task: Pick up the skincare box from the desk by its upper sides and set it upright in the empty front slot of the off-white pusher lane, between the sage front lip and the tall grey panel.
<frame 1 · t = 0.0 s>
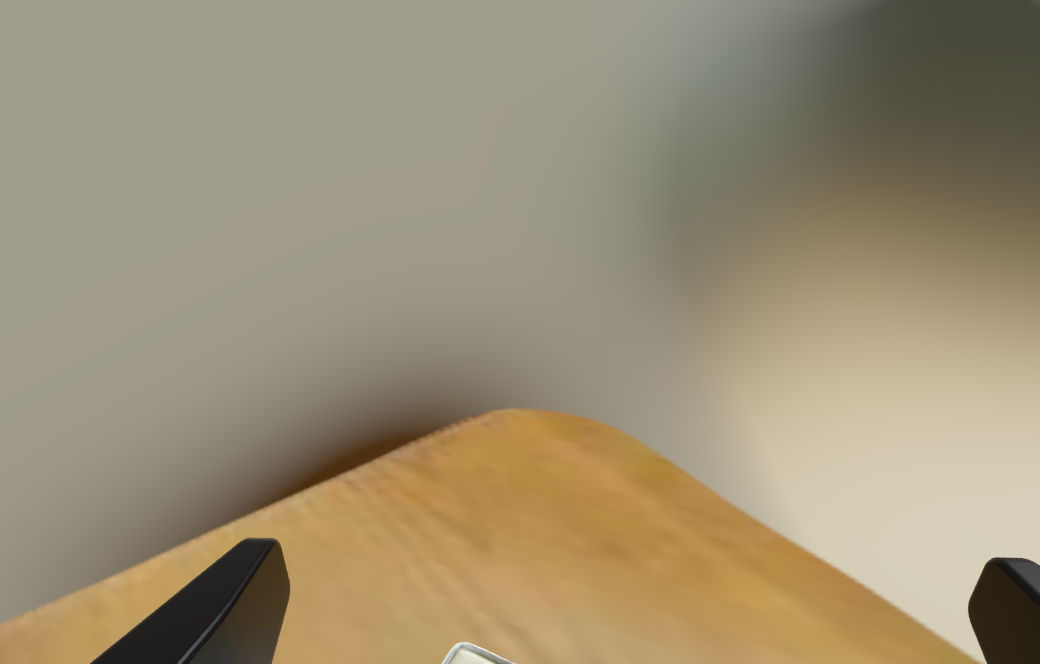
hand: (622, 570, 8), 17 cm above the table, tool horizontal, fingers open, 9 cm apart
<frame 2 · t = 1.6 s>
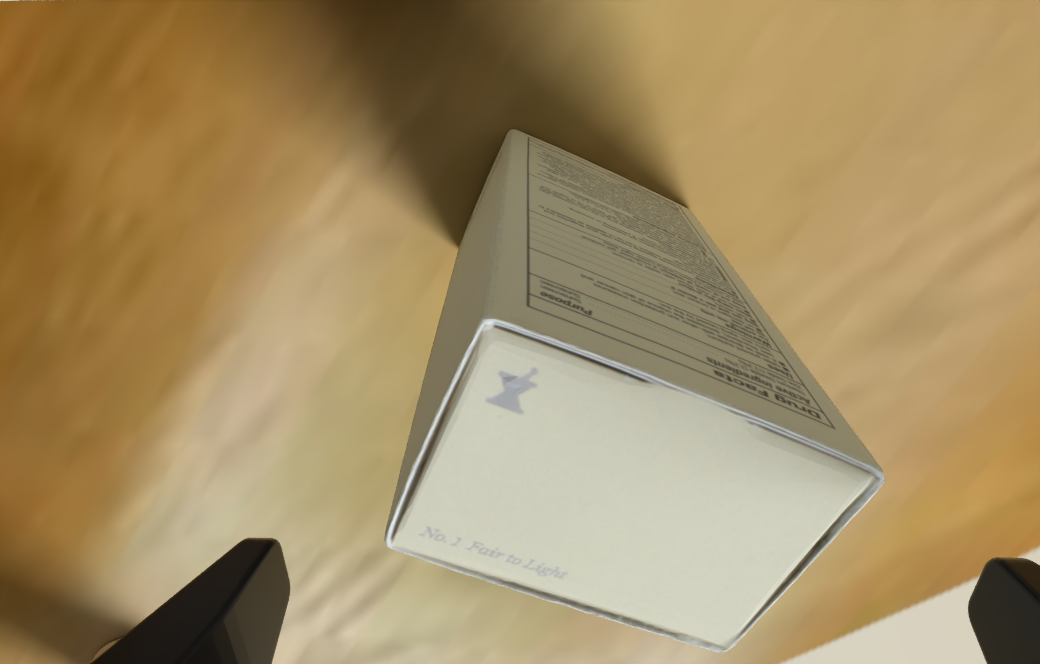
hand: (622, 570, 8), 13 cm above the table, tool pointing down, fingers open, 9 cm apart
skincare box: (578, 228, 20), on the table
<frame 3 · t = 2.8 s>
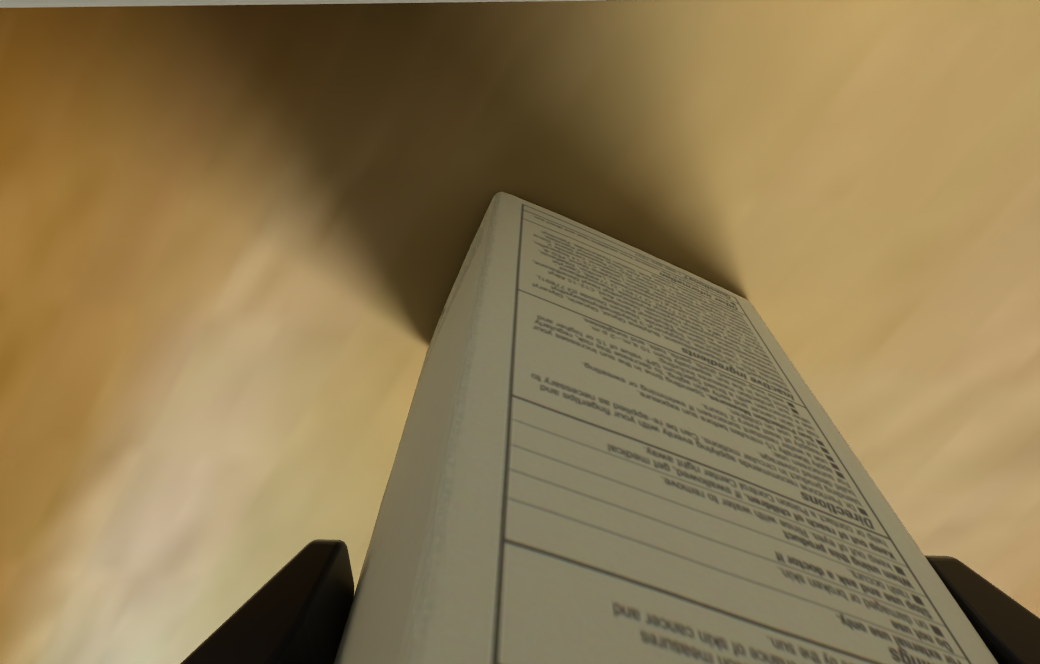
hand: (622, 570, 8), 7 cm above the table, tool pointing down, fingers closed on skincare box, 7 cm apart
skincare box: (591, 320, 15), on the table, touching gripper
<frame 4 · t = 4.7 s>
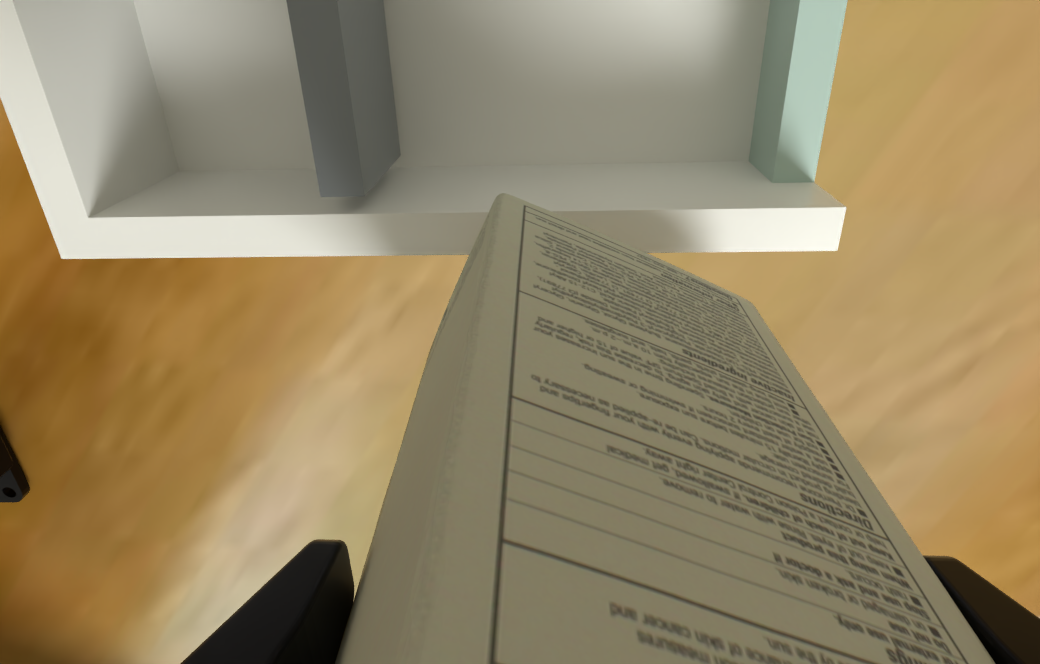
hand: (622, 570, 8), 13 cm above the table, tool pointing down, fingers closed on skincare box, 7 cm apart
skincare box: (593, 321, 15), point 6 cm above the table, touching gripper
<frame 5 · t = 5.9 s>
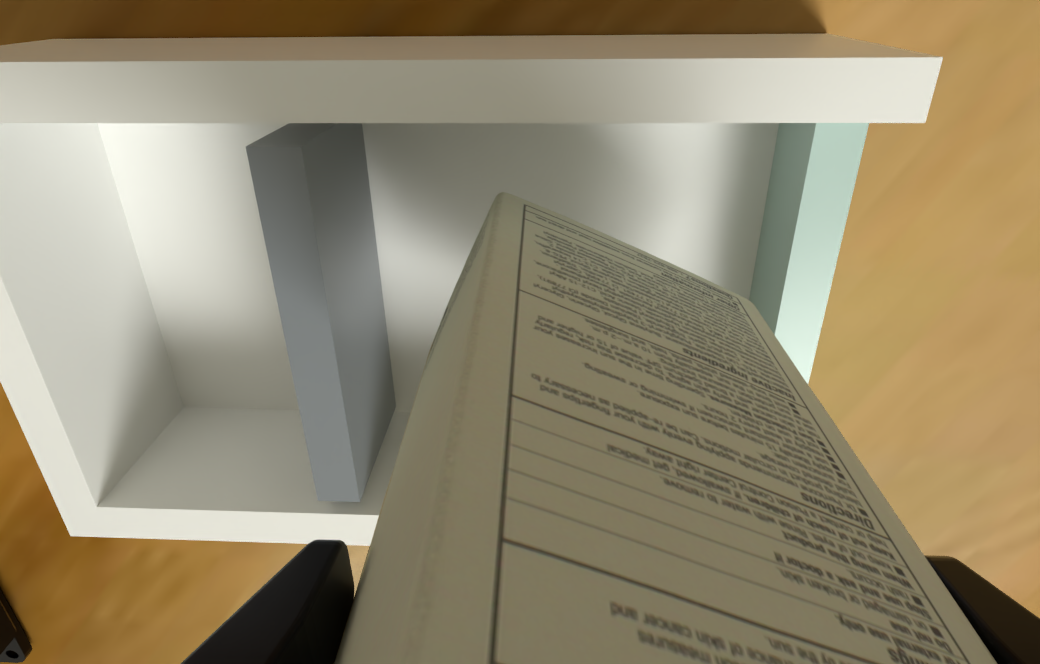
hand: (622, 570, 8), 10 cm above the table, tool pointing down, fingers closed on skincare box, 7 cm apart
pusher lane: (444, 258, 18), on the table
tall grey panel: (338, 307, 15), point 3 cm above the table, slide at 0.0 cm
skincare box: (593, 321, 15), point 3 cm above the table, touching gripper
when the fingers open (9 cm above the table, at t = 6.8 s): skincare box drops 1 cm, resting on pusher lane.
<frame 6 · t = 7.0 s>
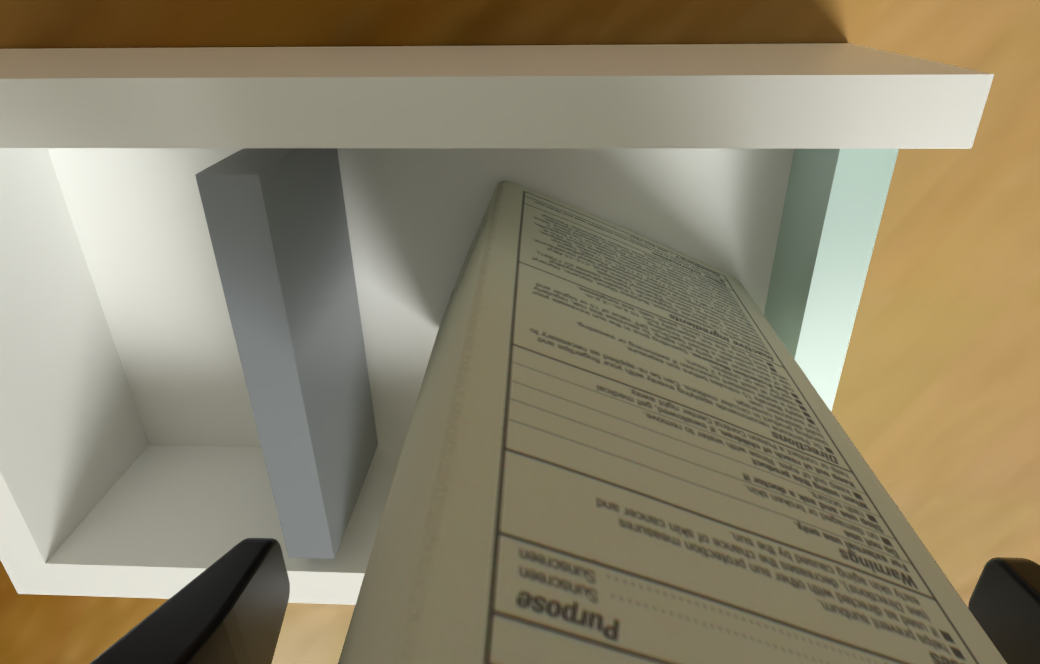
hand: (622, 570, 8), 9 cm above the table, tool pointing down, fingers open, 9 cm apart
pusher lane: (429, 286, 16), on the table
tall grey panel: (310, 345, 14), point 3 cm above the table, slide at 0.0 cm
skincare box: (591, 301, 16), point 1 cm above the table, touching pusher lane
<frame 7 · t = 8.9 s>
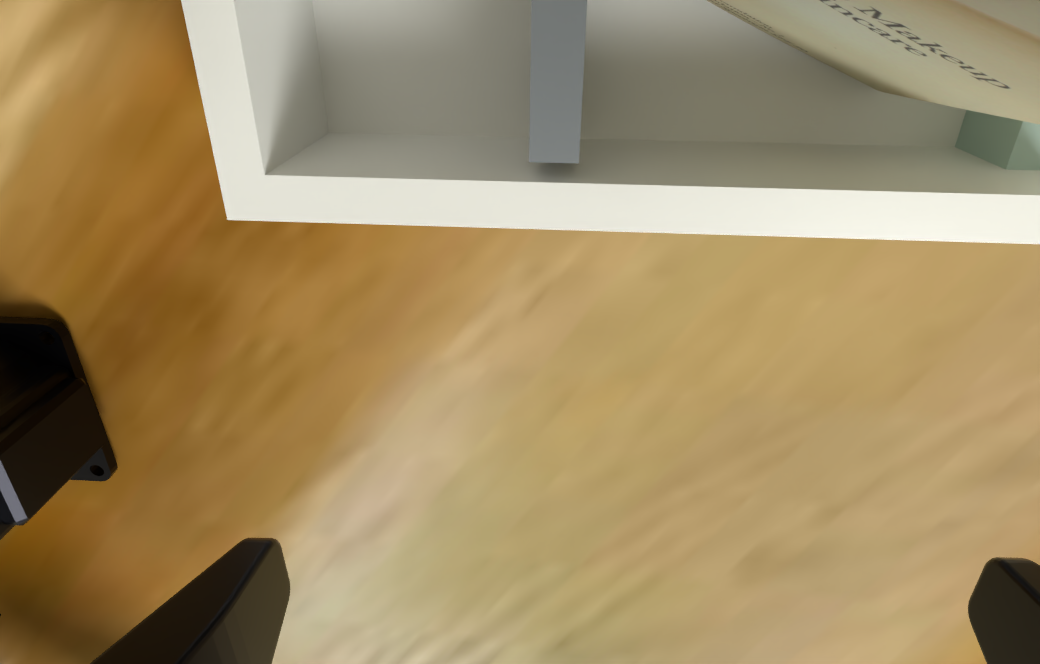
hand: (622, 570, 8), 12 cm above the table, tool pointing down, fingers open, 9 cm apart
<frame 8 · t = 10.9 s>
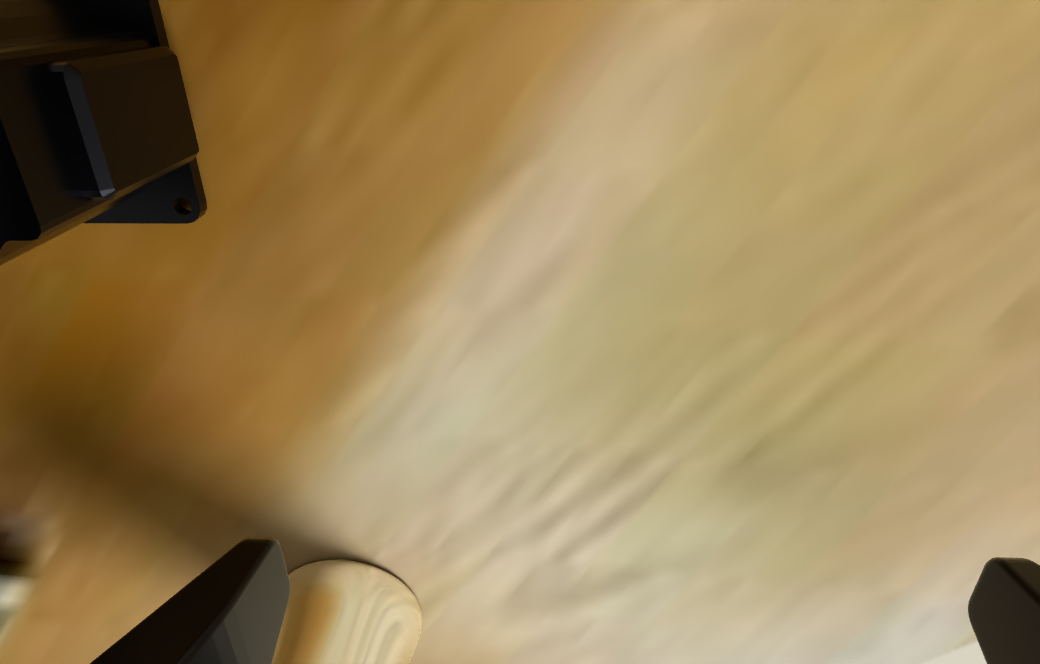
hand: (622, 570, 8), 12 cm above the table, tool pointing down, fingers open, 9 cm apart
beer glass: (350, 607, 27), on the table
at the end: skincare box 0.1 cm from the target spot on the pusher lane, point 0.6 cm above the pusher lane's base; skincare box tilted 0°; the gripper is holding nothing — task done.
